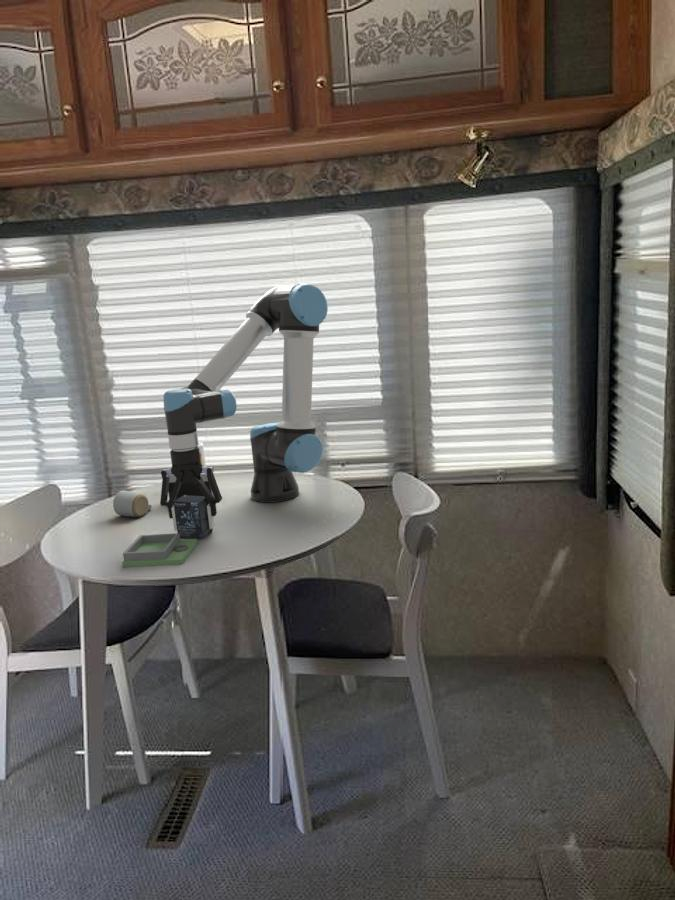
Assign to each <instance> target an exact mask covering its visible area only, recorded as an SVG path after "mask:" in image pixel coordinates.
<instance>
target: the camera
mask: <svg viewBox="0 0 675 900" xmlns="http://www.w3.org/2000/svg"><path fill="white" fill-rule="evenodd" d="M200 476H201V477H202V479H203V482H204V483H205V485H206V486H207V488H208V489H209V491H210V492H211V494H212V495H213V493H212V490H211V487H210V484H209V482H208V479H207V475H205V473H204V471H202V472H201V474H200ZM176 479H177V478H176V477H175V476H174V475H173V474H172V473H171V476H170V478H169V489H168V498H169V499H170V496H171V493H172V490H173V488H174V485H175V481H176ZM183 495H188V496H204V495H203V494H202V492H201V491H200V489H199V488H198V486H197V485H196V484H195V483H194V482H191V483H190V482H186V483H182V484H181V486H180V489H179V491H178V494H177V497H176V499H178V498H180V497H182V496H183ZM213 497H214V495H213ZM169 499H168V500H169ZM176 499H175V500H176Z"/></svg>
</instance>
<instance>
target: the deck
mask: <svg viewBox="0 0 675 900" xmlns="http://www.w3.org/2000/svg"><path fill="white" fill-rule="evenodd" d="M197 544H198V539H196V538H182V539H181V537H180V534H179V533H159V534H158V533H157V534H156V533H155V534H139V536H138V537H137V538H136V539H135V540H134V541H133V542H132V543H131V544H130V545H129V546H128V548H126V549H125V551H123V553H122V557H123V558H122V559H123V561H122V567H123V566H129V567H142V566H141V565H144V566H143V567H148V566H166V565H171V566H172V565H184V563H185V561H186V559H187V558H188V557H189V555H190V554H191V552H192V551H193V549H194V548H195V547H196V545H197ZM137 565H138V566H137ZM146 565H147V566H146Z"/></svg>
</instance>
